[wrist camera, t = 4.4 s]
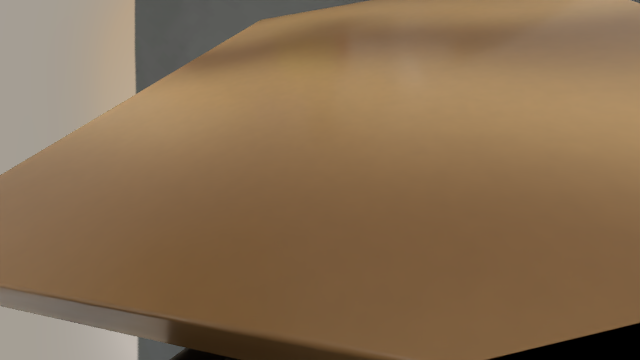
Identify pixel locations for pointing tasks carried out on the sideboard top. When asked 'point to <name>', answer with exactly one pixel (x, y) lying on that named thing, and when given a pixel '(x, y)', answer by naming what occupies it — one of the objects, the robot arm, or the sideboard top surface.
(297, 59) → the lid
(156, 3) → the sideboard top surface
